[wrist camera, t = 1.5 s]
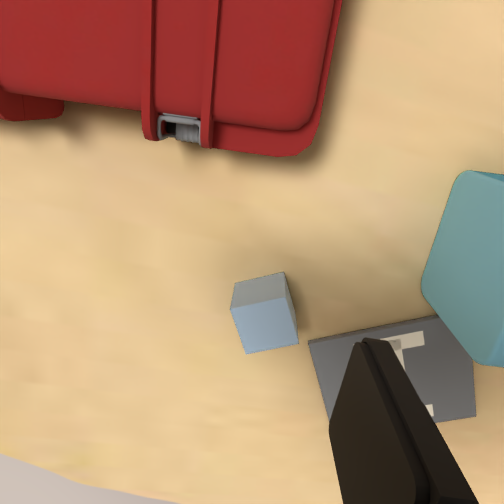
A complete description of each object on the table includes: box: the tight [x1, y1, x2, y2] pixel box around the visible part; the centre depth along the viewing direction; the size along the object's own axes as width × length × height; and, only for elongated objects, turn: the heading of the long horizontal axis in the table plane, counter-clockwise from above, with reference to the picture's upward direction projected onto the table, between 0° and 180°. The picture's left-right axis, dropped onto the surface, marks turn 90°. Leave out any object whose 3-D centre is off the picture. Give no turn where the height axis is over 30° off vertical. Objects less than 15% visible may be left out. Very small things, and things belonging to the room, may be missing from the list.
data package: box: [421, 170, 504, 367], centre depth 28 cm, size 12×4×12 cm, turn 173°
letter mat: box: [308, 315, 476, 423], centre depth 39 cm, size 16×14×1 cm
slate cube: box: [230, 272, 299, 354], centre depth 34 cm, size 5×5×5 cm
